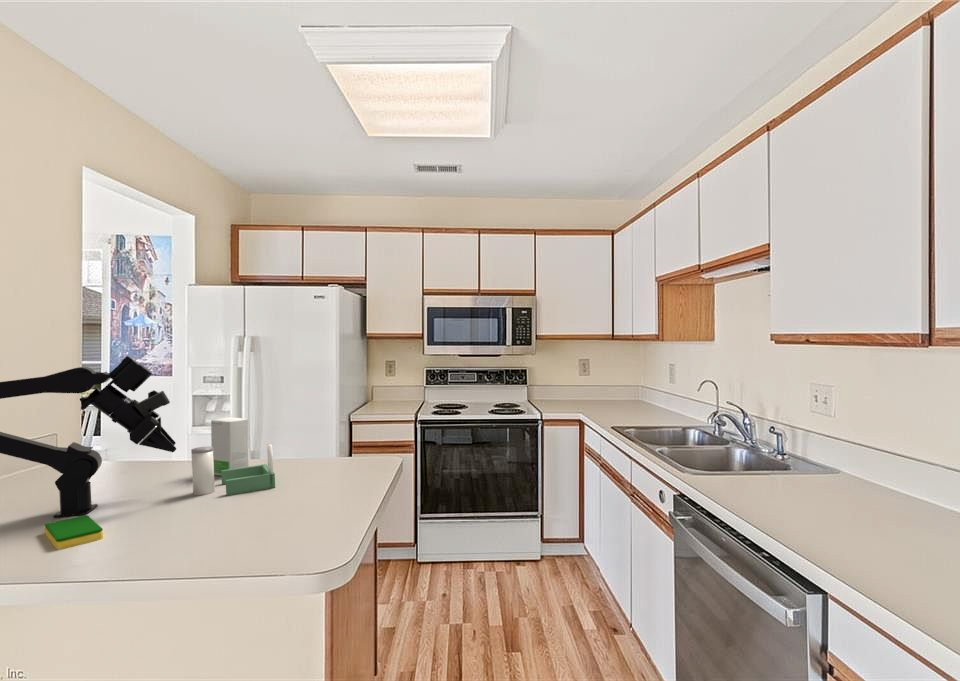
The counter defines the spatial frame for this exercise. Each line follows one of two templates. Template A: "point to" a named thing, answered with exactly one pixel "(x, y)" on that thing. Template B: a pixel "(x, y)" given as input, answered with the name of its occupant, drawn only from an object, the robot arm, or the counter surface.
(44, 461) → the robot arm
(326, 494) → the counter surface
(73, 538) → the dish sponge
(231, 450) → the skincare box
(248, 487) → the green u-shaped bracket
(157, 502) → the counter surface
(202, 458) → the ball tube
